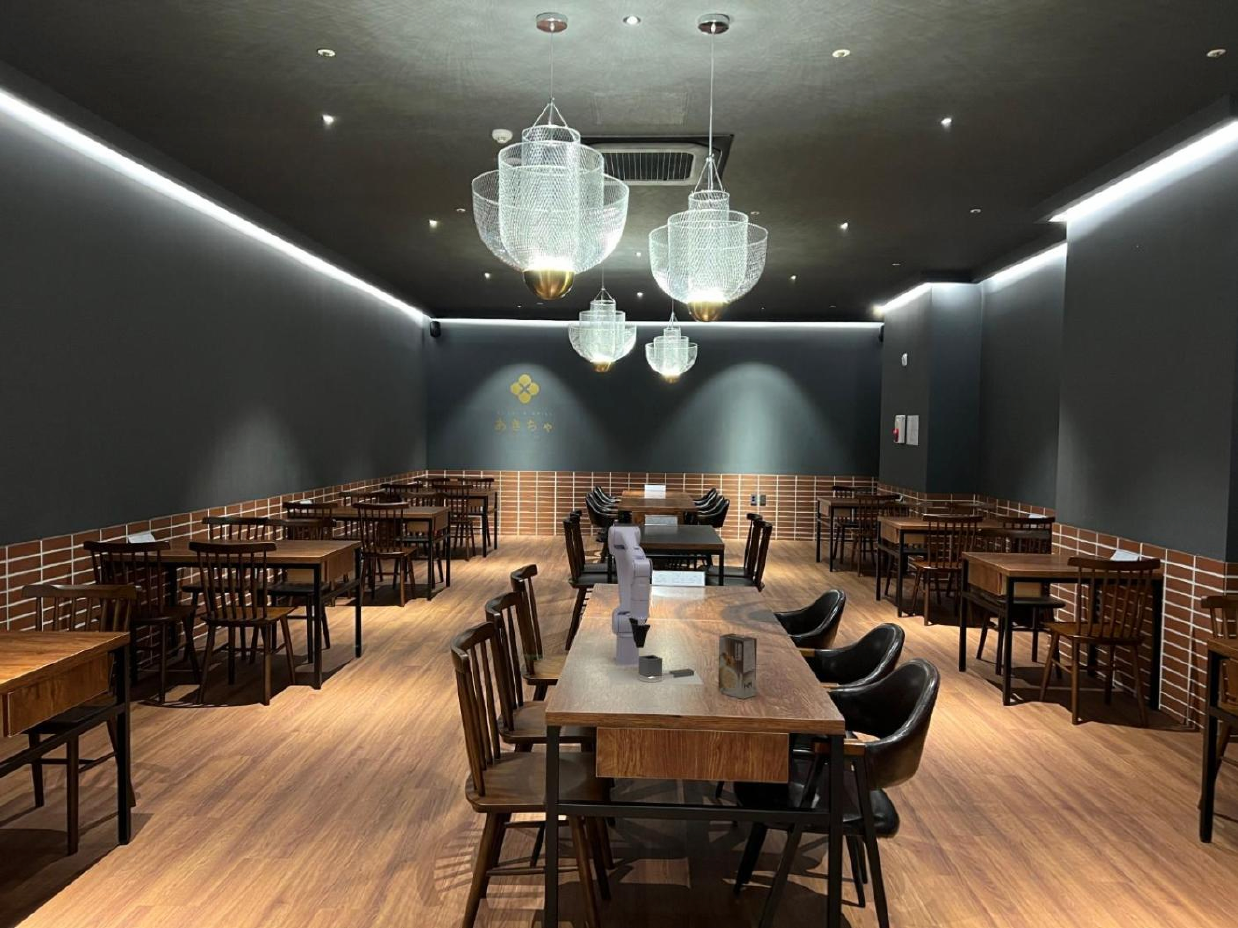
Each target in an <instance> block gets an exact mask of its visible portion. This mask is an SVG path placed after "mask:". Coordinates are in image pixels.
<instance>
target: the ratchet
mask: <svg viewBox="0 0 1238 928" xmlns="http://www.w3.org/2000/svg"><path fill="white" fill-rule="evenodd" d="M673 670H674V669H673ZM693 670H694V669H692V668H684V669H675V670H674V671H669V673H662V676H655V677H645V676H643V675H641V674H638V680H639V681H642V682H647V683H656V682H661V681H662V679H669V678H678V677H686V676H694V671H693Z"/></svg>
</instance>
